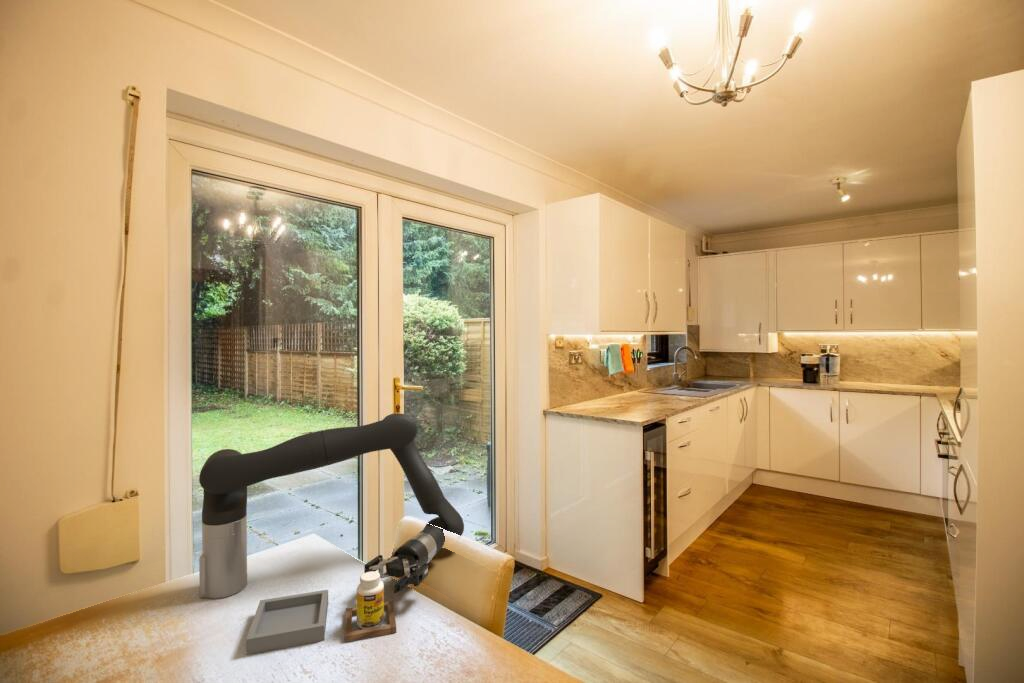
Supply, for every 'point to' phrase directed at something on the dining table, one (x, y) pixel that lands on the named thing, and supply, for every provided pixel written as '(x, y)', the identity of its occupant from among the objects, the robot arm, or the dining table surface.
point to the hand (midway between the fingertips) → (378, 585)
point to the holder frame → (369, 632)
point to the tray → (288, 622)
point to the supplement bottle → (370, 601)
